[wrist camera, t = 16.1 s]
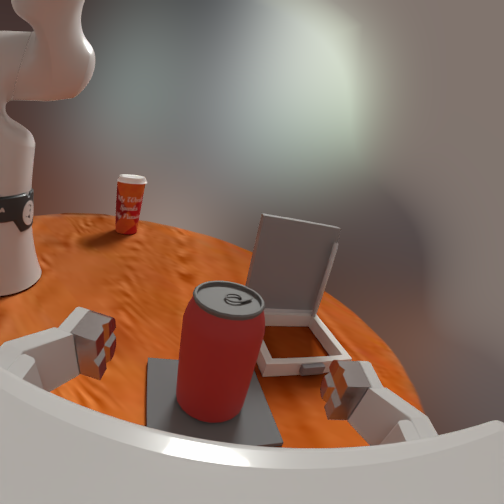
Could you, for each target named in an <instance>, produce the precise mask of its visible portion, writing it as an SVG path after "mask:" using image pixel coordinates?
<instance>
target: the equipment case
mask: <svg viewBox="0 0 504 504" xmlns="http://www.w3.org/2000/svg"><path fill="white" fill-rule="evenodd" d="M340 231H341V229H340V228H338V227H336V226H331V225H325V224H320V223H315V222H309V221H304V220H298V219H292V218H286V217H280V216H275V215H269V214H261V219H260V224H259V228H258V232H257V237H256V241H255V246H254V250H253V254H252V259H251V263H250V268H249V272H248V277H247V281H246V287H248V288H250V289H252V290H254V291H255V292H257V293H258V294H259V295H260V296H261V297H262V299H263V300H264V302H265V309H264V316H265V326H308V327H309V328H310V329H311V331H312V332H313V333H314V335H315V336H316V338H317V339H318V340H319V342H320V343H321V345H322V346H323V347H324V349H325V350H326V351H327V353H328V354H329V356H321V357H302V358H272V357H271V355H270V353H269V351H268V349H267V347H266V344H265V342H264V340H263V341H262V344H261V348H260V351H259V355H258V358H257V364H258V367H259V369H260V372H261V374H262V377H268V376H289V375H301V376H304V375H316V374H323V373H326V372H330V370H329V366H330V364H331V362H332V361H333V360H345V361H351V360H352V358H351V357H350V356H349V354H348V353H347V352H346V351H345V349H344V348H343V347H342V346H341V344H340V343H339V342H338V341H337V339H336V338H335V337H334V336H333V334H332V333H331V332H330V331H329V329H328V328H327V327H326V326H325V324H324V323H323V322H322V321H321V320H320V318H319V317H318V316H317V315H316V313H317V310H318V307H319V305H320V302H321V299H322V296H323V293H324V289H325V287H326V283H327V280H328V277H329V274H330V271H331V268H332V265H333V261H334V258H335V254H336V251H337V248H338V243H337V242H338V238H339V235H340Z"/></svg>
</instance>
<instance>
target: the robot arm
mask: <svg viewBox="0 0 504 504" xmlns="http://www.w3.org/2000/svg"><path fill="white" fill-rule="evenodd" d="M84 1H85V0H11V3H12V6H13V8H14V10H15V12H16V13H17V14H18V15H19V16H20V17H21V18H23V19H24V20H25V21H27V22H28V23H29V24H30V25H31V26H32V28H33V29H34V31H35V32H32V33H31V32H20V31H0V296H3V295H9V294H13V293H17V292H20V291H22V290H25V289H27V288H29V287H30V286H32V285H33V284H34V283H36V282H37V281H38V279H39V278H40V276H41V268H40V265H39V263H38V259H37V256H36V252H35V247H34V241H33V234H32V223H33V189H32V188H31V185H32V171H33V160H34V152H35V141H34V138H33V136H32V134H31V133H30V132H29V130H27V129H26V128H25V127H23V126H22V125H20V124H19V123H18V122H16V121H14V120H12V119H11V118H10V117H9V116H8V115H7V113H6V110H5V105H6V103H7V102H8V101H11V100H33V101H34V100H35V101H53V100H61V99H68V98H74V97H75V96H77V95H78V94H79V93H80V92H81V91H82V90H83V89H84V88H85V87H86V85H87V84H88V82H89V81H90V79H91V77H92V74H93V72H94V68H95V54H94V50H93V48H92V46H91V44H90V43H89V42H88V41H87V40H86V38H85V36H84V34H83V31H82V27H81V12H82V7H83V4H84ZM30 34H31V36H30ZM29 37H30V38H29ZM28 40H29V41H28ZM27 43H28V44H27ZM26 46H27V47H26ZM25 49H26V50H25ZM24 52H25V53H24ZM23 55H24V56H23ZM22 58H23V59H22ZM21 61H22V63H21ZM20 65H21V66H20ZM19 68H20V70H19ZM18 72H19V73H18ZM17 76H18V77H17ZM16 79H17V81H16ZM15 83H16V85H15ZM14 87H15V89H14ZM13 91H14V94H13ZM12 96H13V98H12ZM115 328H116V324H115V319H114V318H113V317H110V316H106V315H103V314H100V313H97V312H94V311H91V310H88V309H85V308H82V307H77V308H76V309H75V310H74V311H73V312H72V313H71V314H70V315H69V316H68V317H67V319H66V320H65V321H64V322H63V323H62V324H61V325H60V326H59V327H58V328H55V327H54V328H51V329H47V330H44V331H41V332H37V333H34V334H31V335H27V336H24V337H21V338H17V339H14V340H11V341H7V342H4V343H3V344H2V345H1V346H0V504H504V423H503V422H500V421H497V420H495V421H490V422H487V423H484V424H481V425H477V426H474V427H471V428H467V429H463V430H459V431H456V432H451V433H447V434H443V435H438V434H437V433H436V431H435V429H434V427H433V425H432V424H431V422H430V420H429V418H428V417H427V416H426V415H424V414H423V413H422V412H420V411H419V410H417V409H416V408H414V407H413V406H411V405H410V404H409V403H407V402H406V401H404V400H403V399H402V398H400V397H399V396H397V395H396V394H394V393H393V392H392V391H390V390H389V389H387V388H383V386H382V384H381V382H380V380H379V378H378V376H377V374H376V373H375V371H374V369H373V367H372V365H371V363H370V362H368V361H345V360H333V361H332V362H331V364H330V366H329V370H330V373H328V374H327V375H325V376H324V378H323V380H322V383H321V388H320V390H321V397H322V399H323V400H324V401H325V402H326V405H325V406H324V408H325V411H326V415H327V418H328V420H348V422H349V423H350V424H351V426H352V427H353V428H354V429H355V430H356V431H357V432H358V433H359V434H360V435H361V436H362V437H363V438H364V439H365V440H366V441H367V442H368V444H369V445H370V446H362V447H348V448H279V447H263V446H252V445H242V444H233V443H226V442H219V441H212V440H206V439H200V438H194V437H189V436H184V435H179V434H175V433H170V432H166V431H161V430H157V429H153V428H149V427H146V426H142V425H138V424H135V423H131V422H128V421H125V420H121V419H118V418H115V417H112V416H109V415H106V414H103V413H100V412H97V411H94V410H92V409H89V408H86V407H84V406H81V405H78V404H76V403H73V402H71V401H69V400H66V399H64V398H61V397H59V396H57V395H55V394H52V393H50V391H52V390H54V389H55V388H57V387H59V386H61V385H62V384H64V383H66V382H68V381H69V380H71V379H73V378H75V377H76V376H78V375H79V374H82V375H85V376H88V377H91V378H95V379H98V380H101V378H102V376H103V374H104V372H105V370H106V363H107V362H109V361H111V359H112V357H113V355H114V352H115V348H116V337H115V335H114V334H113V331H114V330H115Z"/></svg>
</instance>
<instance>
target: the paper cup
mask: <svg viewBox="0 0 504 504" xmlns="http://www.w3.org/2000/svg"><path fill="white" fill-rule="evenodd" d="M117 181H118V184H117V185H118V186H117V200H116V232H118V233H120V234H126V235H130V234H135V233H136V232H137V227H138V221H139V215H140V210H141V204H142V199H143V193H144V188H145V184H147V182H146V179H145V177H143V176H138V175H129V174H128V175H127V174H122V175H120V176H119V177H118V179H117Z"/></svg>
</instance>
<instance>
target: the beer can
mask: <svg viewBox="0 0 504 504" xmlns="http://www.w3.org/2000/svg"><path fill="white" fill-rule="evenodd" d="M264 309H265V302H264V300H263V299H262V297H261V296H260V295H259V294H258V293H257V292H255V291H254V290H252V289H250V288H248V287H246V286H243V285H241V284H238V283H233V282H228V281H209V282H205V283H202V284H200V285H199V286H197V287H196V288H195V290H194V292H193V297H192V298H191V300H190V302H189V303H188V306H187V308H186V310H185V313H184V316H183V324H182V333H181V342H180V352H179V363H178V374H177V386H176V397H177V401H178V403H179V405H180V406H181V408H182V410H184V411H185V412H186V413H187V414H188V415H189V416H191V417H193V418H195V419H197V420H199V421H204V422H209V423H218V422H224V421H227V420H230V419H232V418H233V417H235V416H236V415H237V414H239V412H240V411H241V409H242V407H243V404H244V401H245V398H246V395H247V391H248V388H249V385H250V382H251V378H252V375H253V372H254V368H255V365H256V362H257V358H258V355H259V351H260V348H261V344H262V341H263V337H264V334H265V316H264Z"/></svg>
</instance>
